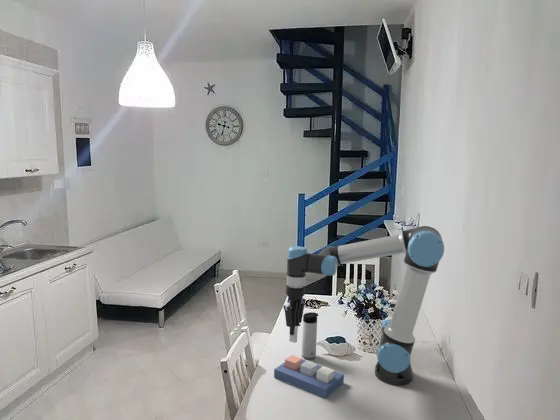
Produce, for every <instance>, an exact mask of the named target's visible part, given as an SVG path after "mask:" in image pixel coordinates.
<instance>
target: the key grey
mask: <svg viewBox="0 0 560 420" xmlns="http://www.w3.org/2000/svg"><path fill="white" fill-rule="evenodd" d="M305 361H306V362H304V363H303V364H301V365H300V373H301V374H304V375H307V376H309V377H312V376H313V375H315V374H316V373H317V370H318V363H315V362H313V361H309V360H305Z"/></svg>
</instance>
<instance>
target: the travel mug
mask: <svg viewBox="0 0 560 420" xmlns="http://www.w3.org/2000/svg"><path fill="white" fill-rule="evenodd" d="M318 317H319V313H316V312H311V311H310V312H305V313H303V316H302V336H301V338H302V340H301V341H302V342H301V343H302V344H301V358H302V359H303V360H307V361H309V360H314V359H315V358H316V357H317V333H318V331H317V329H318Z"/></svg>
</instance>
